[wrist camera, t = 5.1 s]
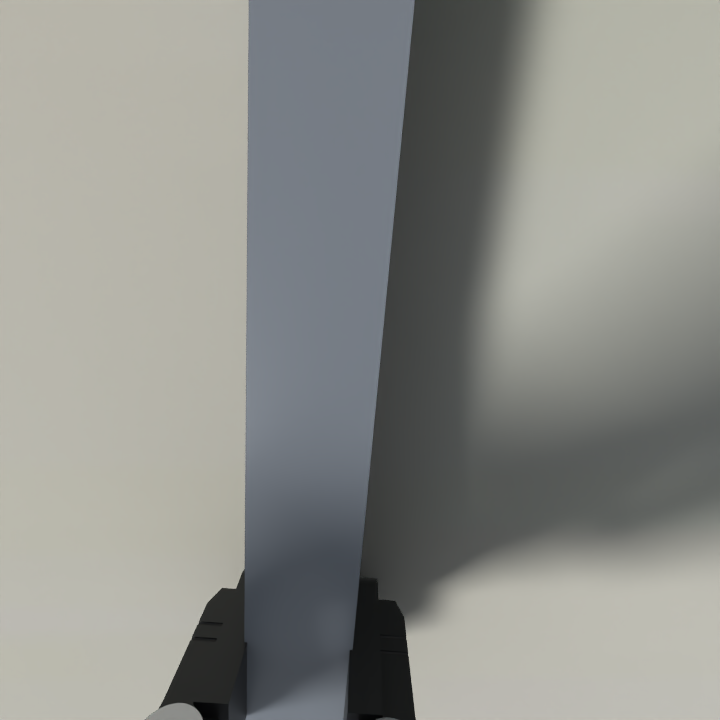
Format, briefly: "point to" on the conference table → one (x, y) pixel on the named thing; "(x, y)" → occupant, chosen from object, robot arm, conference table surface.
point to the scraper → (314, 329)
